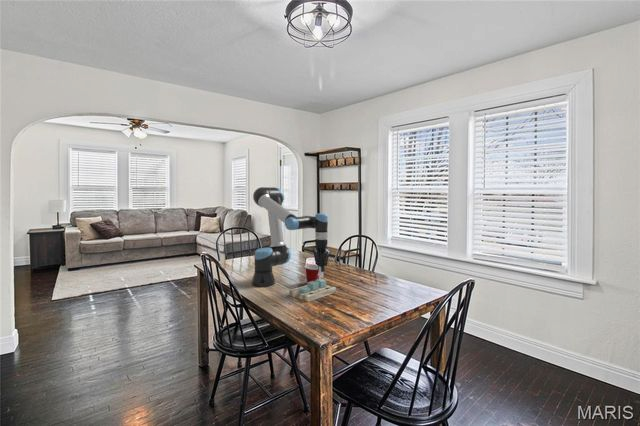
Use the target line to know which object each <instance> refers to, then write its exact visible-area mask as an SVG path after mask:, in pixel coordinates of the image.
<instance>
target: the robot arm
mask: <svg viewBox="0 0 640 426" xmlns="http://www.w3.org/2000/svg"><path fill="white" fill-rule="evenodd" d="M252 200H253V201H254V203H255V204H256V205H257V206H258V207H260V208H264V209H265V210H266V211H267V217H268V218H267V219H268V226H269V233H270V234H269V235H270V245H269V247H261V248H257V249H256V250H254V256H253V257H254V272H253V277H252V280H251V285H252V286H254V287H257V288H258V287H261V288H263V287H264V288H265V287H271V286H273V285H275V284H276V280H275V276H274V272H273V267H276V266H281V265H284V264H285V265H286V264H287V263H289V261H290V260H291V255H292V254H291V250H290V248H289V247H288V246H287V243H286V242H285V241H284V232H283V225H282V224H283V223H284V226H285V228H286V229H287V230H289V231H296V230H303V229H304V230H305V229H315V236H314V237H315V238H314V239H315V240H314V242H315V243H314V244H315V247H314V248H313V249H312V253H313V256H314V262H315V264H314V265H318V271H319V273H318V278H324V273H325V267H327V266H328V262H329V257H330V254H331V251H330V250H328V247H327V246H328V242H329V241H328V237H329V236H328V233H329V232H328V224H329V220H328V216H329V215H328V214H327V213H316V214H315V216H310V215H303V216H296V215H295V214H293V213H292V212H290V211H289V210H288V209H286V208H285V207H284V206H283V205H282V204H283V202H284V201H285V195H284V192H283V190H282V189H281V188H279V187H275V186H274V187H267V186H266V187H258V188H257V189H255V190H254V191H253V194H252ZM282 222H283V223H282Z"/></svg>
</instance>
